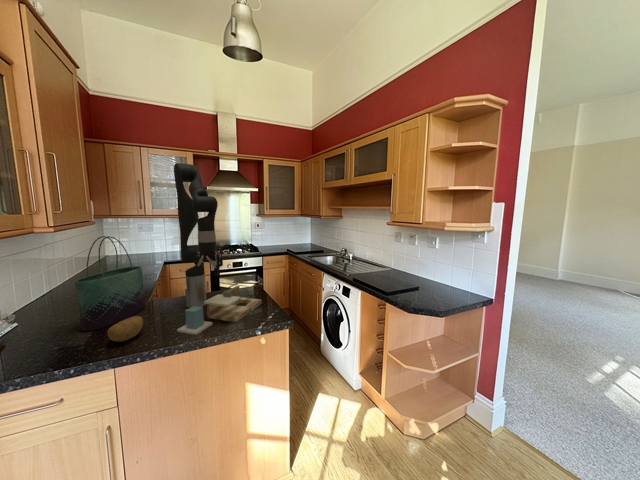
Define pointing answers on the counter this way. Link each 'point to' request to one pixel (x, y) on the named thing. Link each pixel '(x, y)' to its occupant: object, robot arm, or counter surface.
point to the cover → (223, 299)
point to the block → (194, 317)
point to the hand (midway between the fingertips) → (209, 274)
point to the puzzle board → (233, 308)
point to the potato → (125, 329)
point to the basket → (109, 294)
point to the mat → (194, 331)
